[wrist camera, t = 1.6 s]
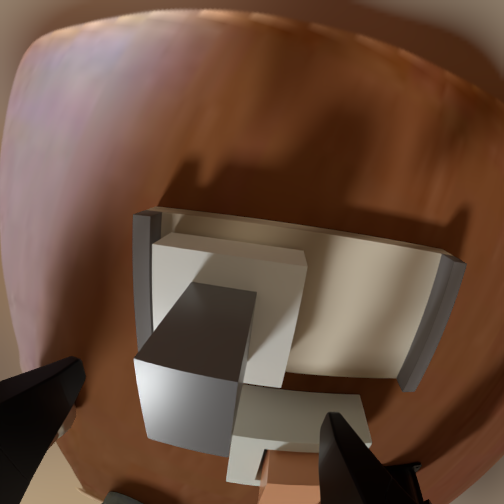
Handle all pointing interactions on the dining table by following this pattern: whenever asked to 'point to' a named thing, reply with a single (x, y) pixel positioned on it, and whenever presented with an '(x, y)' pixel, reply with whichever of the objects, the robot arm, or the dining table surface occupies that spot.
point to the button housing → (284, 426)
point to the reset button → (289, 478)
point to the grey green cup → (119, 499)
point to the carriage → (214, 334)
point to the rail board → (331, 292)
